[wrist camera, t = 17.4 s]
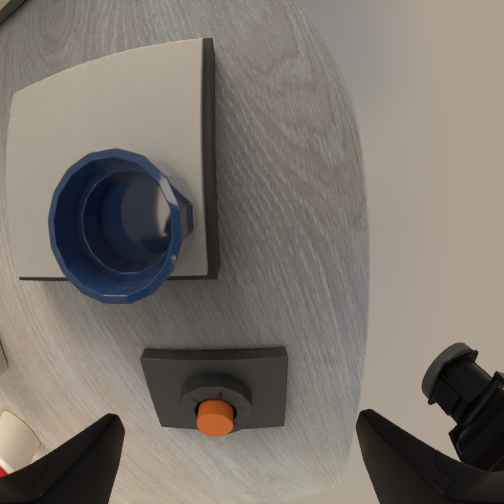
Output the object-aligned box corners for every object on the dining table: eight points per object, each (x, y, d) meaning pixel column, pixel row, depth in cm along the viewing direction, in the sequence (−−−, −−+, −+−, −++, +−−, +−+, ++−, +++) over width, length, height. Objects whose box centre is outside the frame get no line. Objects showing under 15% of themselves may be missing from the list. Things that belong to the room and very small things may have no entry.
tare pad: (285, 346, 20) (292, 369, 17) (281, 415, 22) (286, 439, 19) (144, 348, 20) (133, 370, 17) (163, 416, 21) (157, 439, 18)
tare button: (231, 398, 18) (231, 414, 16) (234, 420, 18) (234, 436, 17) (196, 397, 18) (194, 414, 16) (201, 420, 18) (199, 435, 17)
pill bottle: (31, 448, 24) (8, 489, 13) (-2, 414, 22) (-30, 453, 11) (46, 444, 23) (20, 492, 12) (9, 406, 21) (-25, 451, 11)
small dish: (196, 153, 14) (178, 138, 9) (201, 272, 15) (188, 304, 11) (90, 167, 13) (45, 162, 9) (100, 274, 15) (60, 301, 10)
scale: (214, 54, 15) (211, 31, 12) (219, 267, 18) (216, 283, 15) (33, 98, 14) (10, 90, 11) (36, 271, 18) (13, 283, 14)
